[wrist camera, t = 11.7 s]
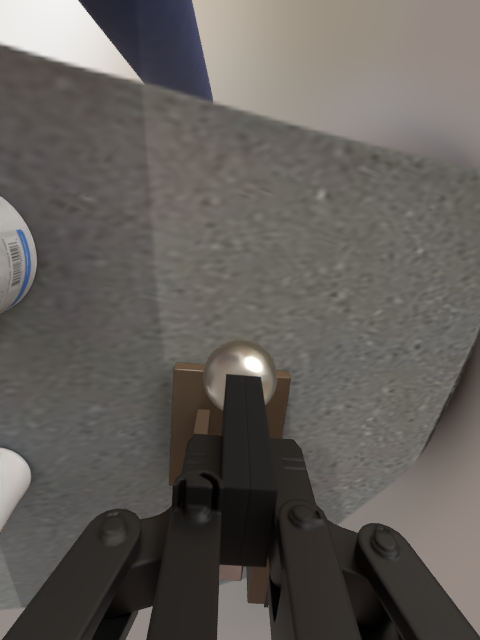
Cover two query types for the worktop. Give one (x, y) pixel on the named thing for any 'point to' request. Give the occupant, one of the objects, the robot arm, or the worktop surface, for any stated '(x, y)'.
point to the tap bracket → (205, 418)
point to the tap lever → (223, 361)
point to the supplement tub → (15, 257)
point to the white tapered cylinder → (12, 482)
